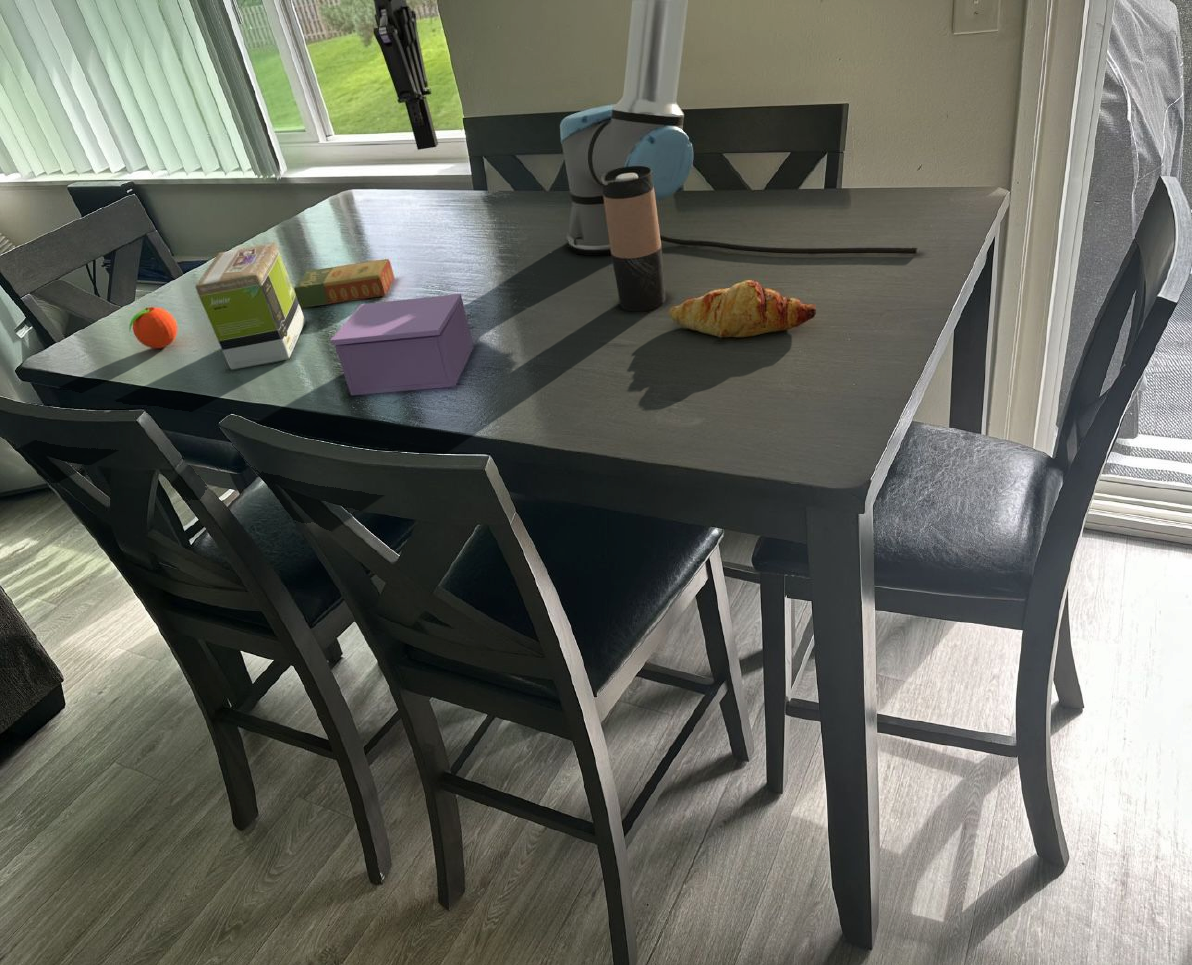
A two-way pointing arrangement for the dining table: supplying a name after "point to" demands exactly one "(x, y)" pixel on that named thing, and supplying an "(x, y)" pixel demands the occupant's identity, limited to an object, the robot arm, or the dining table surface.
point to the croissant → (742, 311)
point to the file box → (408, 360)
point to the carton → (344, 283)
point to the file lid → (397, 319)
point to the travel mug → (634, 237)
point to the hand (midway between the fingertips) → (428, 146)
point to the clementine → (154, 327)
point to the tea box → (251, 305)
